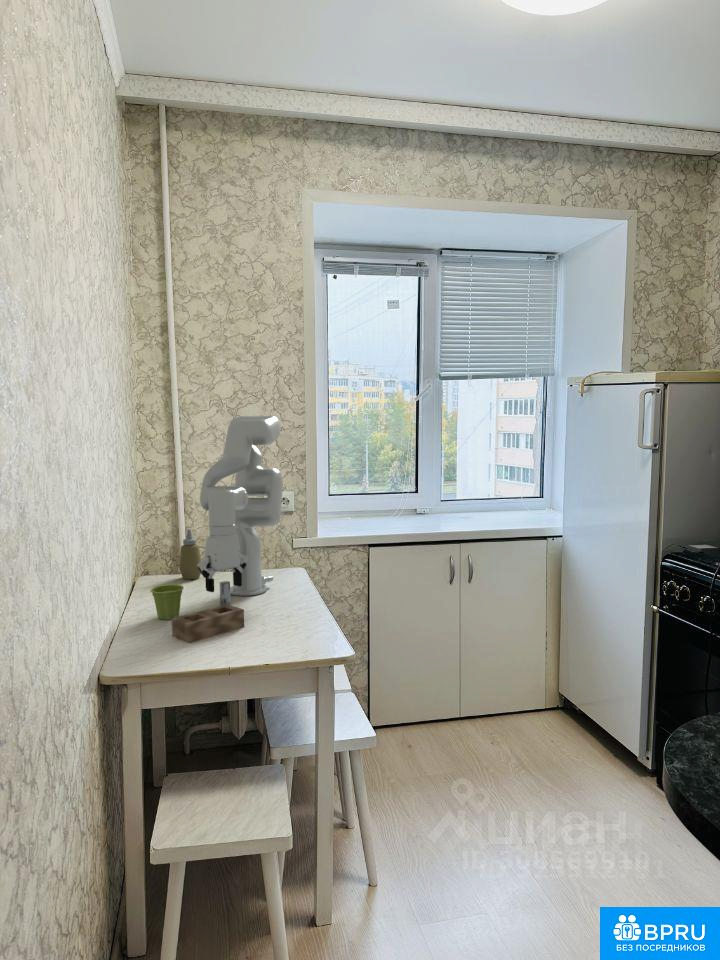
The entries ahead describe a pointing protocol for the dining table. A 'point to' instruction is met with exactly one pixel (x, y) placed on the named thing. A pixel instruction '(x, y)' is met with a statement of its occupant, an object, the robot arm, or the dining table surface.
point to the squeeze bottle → (189, 558)
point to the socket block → (207, 623)
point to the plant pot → (167, 600)
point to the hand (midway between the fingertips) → (224, 588)
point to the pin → (225, 593)
